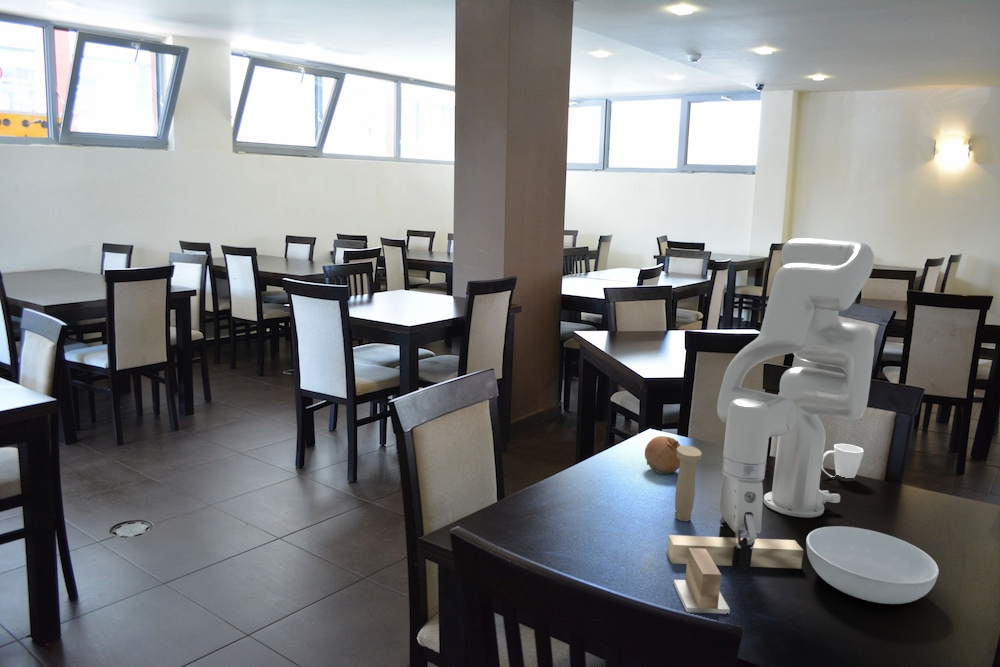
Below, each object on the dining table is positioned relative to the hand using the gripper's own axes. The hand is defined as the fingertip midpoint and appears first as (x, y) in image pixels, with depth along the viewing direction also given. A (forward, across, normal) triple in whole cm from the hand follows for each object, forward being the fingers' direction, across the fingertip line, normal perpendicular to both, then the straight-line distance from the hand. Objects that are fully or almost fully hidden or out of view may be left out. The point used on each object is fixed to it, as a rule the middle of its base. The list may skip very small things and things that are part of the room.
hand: (733, 556), depth 139 cm
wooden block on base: (+1, -14, +10) cm, 17 cm away
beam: (+1, 0, 0) cm, 1 cm away
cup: (+1, +46, -41) cm, 62 cm away
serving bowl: (+1, -8, -21) cm, 23 cm away
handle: (+1, +18, +5) cm, 19 cm away
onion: (+1, +46, +3) cm, 46 cm away
